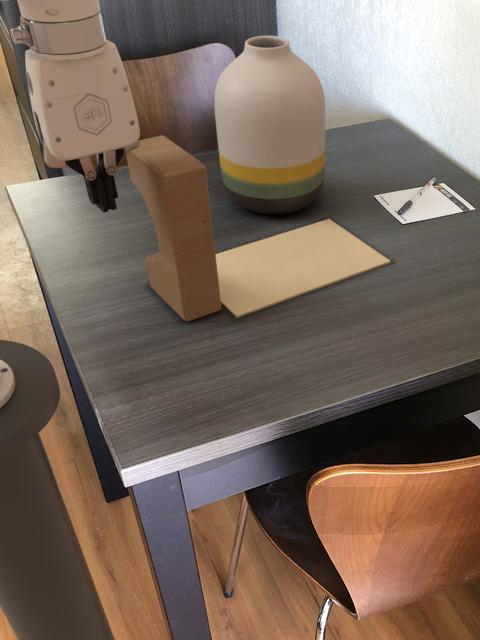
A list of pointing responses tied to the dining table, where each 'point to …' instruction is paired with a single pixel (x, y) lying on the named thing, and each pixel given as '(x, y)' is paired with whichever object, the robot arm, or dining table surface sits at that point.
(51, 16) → the robot arm
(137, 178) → the decorative block
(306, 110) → the vase
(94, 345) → the dining table surface
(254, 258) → the felt mat
